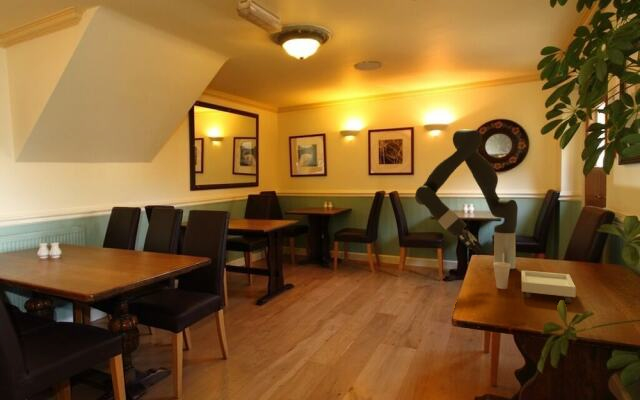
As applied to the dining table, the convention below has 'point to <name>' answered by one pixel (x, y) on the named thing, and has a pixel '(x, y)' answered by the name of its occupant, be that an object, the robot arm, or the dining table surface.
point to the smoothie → (501, 273)
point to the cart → (548, 284)
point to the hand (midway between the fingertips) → (481, 251)
